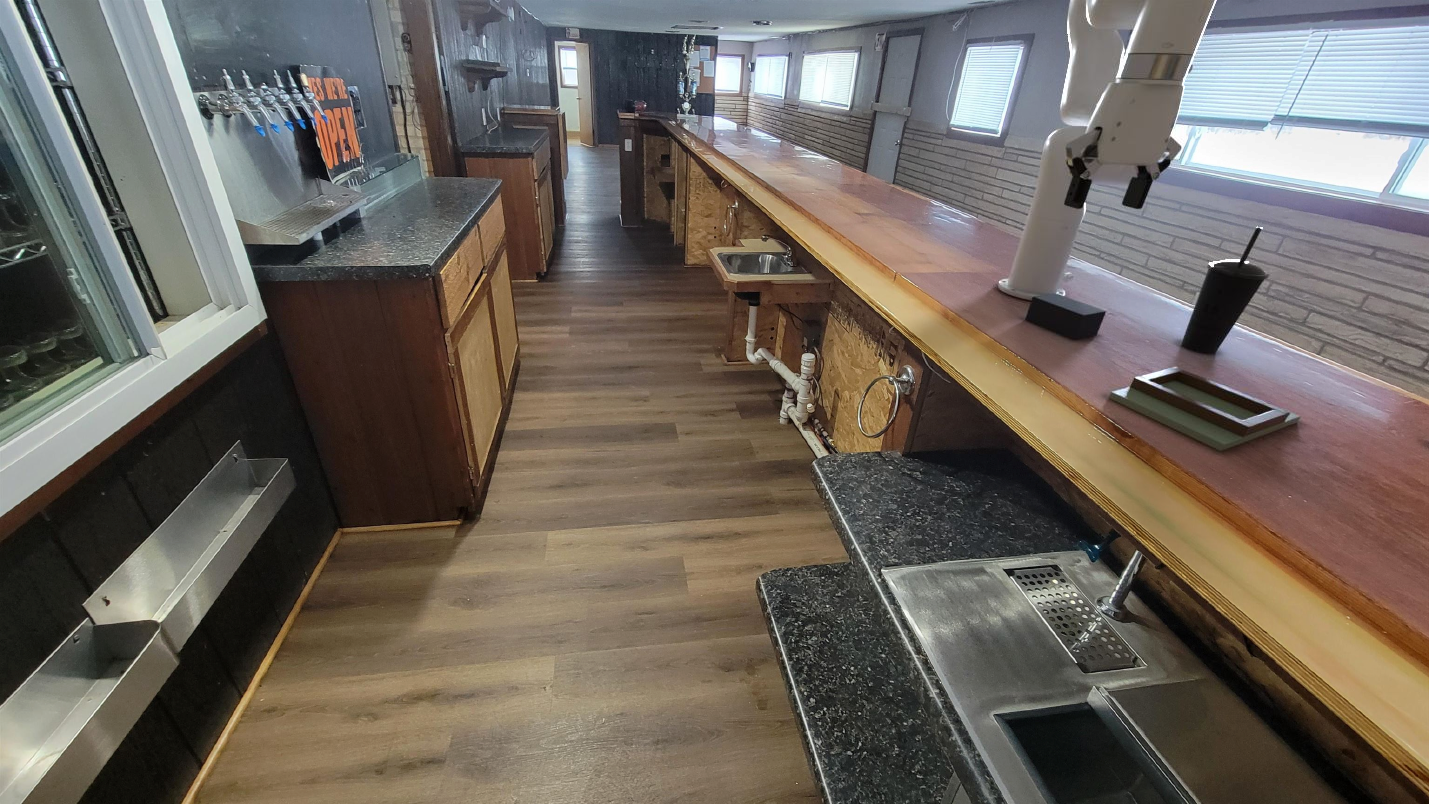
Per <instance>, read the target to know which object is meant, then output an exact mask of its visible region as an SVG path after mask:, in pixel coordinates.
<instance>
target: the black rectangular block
mask: <svg viewBox="0 0 1429 804" xmlns="http://www.w3.org/2000/svg"><path fill="white" fill-rule="evenodd" d="M1106 313H1107V310H1105V309H1101V308H1099V307H1096V306H1093V305H1090V304H1088V303H1085V302H1082V301H1078V300H1076V299H1073V298H1071V297H1067V296H1066V295H1065V296H1062V295H1059V294H1056V293H1052V294H1046V295H1039V296H1033V297H1032V300H1030V304H1029V307H1028V310H1027V313H1026V316H1025V318H1024V320H1025V321H1027V322H1030V323H1032V324H1035V325H1036V326H1037V325H1038V326H1040V327H1042V328H1044V329H1047V330H1049V331H1052V332H1054V333H1057V334H1059V335H1061V336H1064V337H1066V338H1069V339H1071V340H1080V339H1085V338H1090V337H1094V336H1098V333H1099V331H1100V328H1101V326H1102V323H1103V320H1104V318H1105V316H1106Z"/></svg>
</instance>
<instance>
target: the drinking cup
mask: <svg viewBox="0 0 1429 804" xmlns="http://www.w3.org/2000/svg"><path fill="white" fill-rule="evenodd" d="M1262 230H1263V227H1256V228H1255V230H1254V232H1253V233H1252V236H1251V238H1250V239H1249V241H1248V242H1247V243H1248V244H1247V245H1246V247H1245V249H1244V251H1243V253H1242V255H1241V257H1240V259H1225V260H1220V261H1213V262H1209V263H1207V266H1206V268H1207V272H1206V275H1205V277H1204V280H1203V282H1202V285H1201V288H1200V291H1199V293H1198V296H1197V299H1196V302H1195V304H1194V307H1193V309H1192V313H1191V316H1190V318H1189V321H1188V324H1187V327H1186V329H1185V332H1184V335H1183V336H1182V337H1183V338H1182V341H1181V344H1180V345H1181V346H1182V347H1183V348H1185V349H1187V350H1190V351H1193V352H1196V353H1201V354H1207V355H1210V354H1212V355H1213V354H1216V353H1217V351H1218V350H1219V348H1220V347H1221V346H1222V344H1223V343H1224V341H1225V340H1226V338H1227V337H1228V335H1229V333H1230V332H1231V330H1232V329H1233V328H1234V327H1235V325H1236V323H1237V322H1238V320H1239V319H1240V317H1241V316H1242V314H1243V312H1244V311H1245V309H1246V308H1247V307H1248V305H1249V303H1250V302H1251V301H1252V299H1253V298H1254V296H1255V294H1256V293H1257V291H1258V290H1259V288H1260V287H1261V286H1262V284H1263V283H1264V281H1265V280H1267V279H1268V278H1269V276H1270V273H1269V272H1267V271H1266V270H1264V269H1262V267H1260V266H1258V265H1257V264H1255V263H1252V262H1249V261H1247V259H1248V257H1249V255H1250V253H1251V251H1252V249H1253V247H1254V245H1255V243H1256V242H1257V240H1258V238H1259V235H1260V233H1261V232H1262Z"/></svg>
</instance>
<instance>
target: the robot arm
mask: <svg viewBox="0 0 1429 804" xmlns="http://www.w3.org/2000/svg"><path fill="white" fill-rule="evenodd" d="M1216 2H1217V0H1069V5H1068V11H1067V34H1068V35H1067V36H1068V42H1069V51H1070V57H1069V62H1068V67H1067V72H1066V77H1065V82H1064V87H1063V91H1062V96H1061V102H1060V111H1059V114H1060V118H1061V121H1062V122H1063V123H1064V124H1065V125H1068V126H1064V127H1061V128H1058V129H1056V130H1055V131H1053V132H1052V133H1051V134H1049V136H1048V137H1047V138H1046V140H1045V142H1044V145H1043V148H1042V152H1041V155H1040V156H1041V157H1040V163H1039V170H1038V175H1037V176H1038V177H1037V181H1036V187H1035V190H1034V194H1033V198H1032V201H1031V205H1030V208H1029V211H1028V215H1027V217H1026V221H1025V224H1024V228H1023V231H1022V234H1021V237H1020V240H1019V242H1018V247H1017V250H1016V254H1015V257H1014V259H1013V263H1012V266H1011V270H1010V273H1009V276H1008V278H1004V279H1001V280H999V282H998V285H997V286H998V287H997V288H998V289H999V290H1000V291H1001V292H1003V293H1004V294H1007V295H1009V296H1011V297H1015V298H1019V299H1023V300H1026V301H1031V300H1032V297H1033V296H1039V295H1046V294H1052V293H1056V294H1059V295H1062V296H1065V297H1066V291H1065V290H1064V289H1063V288H1061V285H1062V284H1063V283H1068V282H1072V281H1073V280H1074V277H1075V276H1074V274H1073V272H1065V270H1066V267H1067V264H1068V262H1069V259H1070V256H1071V253H1072V250H1073V247H1074V245H1075V242H1076V239H1077V236H1078V233H1079V231H1080V228H1081V225H1082V222H1083V220H1084V217H1085V214H1086V208H1087V207H1086V201H1087V197H1088V195H1089V192H1090V189H1091V187H1092V185H1103V186H1118V187H1119V186H1120V187H1126V186H1127V189H1126V191H1125V194H1124V197H1123V199H1122V201H1121V205H1122V206H1123V207H1127V208H1130V209H1135V210H1141V209H1143V207H1144V204H1145V202H1146V199H1147V197H1148V194H1149V192H1150V190H1151V187H1152V185H1153V183H1154V181H1156V180H1158V179H1159V178H1160V176H1161V173H1163V172H1164V171H1165V170H1167V168H1169V167H1170V165H1171V162H1173V160H1174V159H1175V158H1176V157H1177V156H1178V154H1179V153H1180V152H1181V150H1182V145H1181V144H1180V143H1179V142H1178V141H1177V140H1175V138H1174V137H1172V134H1173V131H1174V128H1175V126H1176V122H1177V119H1178V116H1179V112H1180V109H1181V104H1182V100H1183V96H1184V90H1185V85H1184V82H1185V79H1186V77H1187V75H1190V73H1191V72H1192V70H1193V68H1194V67H1193V64H1192V62H1193V60H1194V56H1195V54H1196V52H1197V49H1198V47H1199V45H1200V42H1201V39H1202V36H1203V35H1204V32H1205V29H1206V27H1207V25H1208V22H1209V19H1210V16H1211V14H1212V11H1213V9H1214V7H1215V4H1216ZM1118 30H1130V31H1131V30H1132V32H1131V35H1130V38H1129V41H1128V43H1127V47H1126V49H1125V44H1124V41H1123V39H1122V37H1121V35H1120V34H1119V32H1118Z"/></svg>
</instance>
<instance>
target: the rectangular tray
mask: <svg viewBox="0 0 1429 804" xmlns="http://www.w3.org/2000/svg"><path fill="white" fill-rule="evenodd" d="M1108 399H1110V400H1112V401H1114V402H1116V403H1118V404H1120V405H1123V406H1125V407H1127V408H1129V409H1131V410H1133V411H1135V412H1137V413H1139V414H1142V415H1143V416H1146V417H1148V418H1149V419H1151V420H1155V421H1156V422H1158V423H1160V424H1162V425H1165V426H1166V427H1169V428H1171V429H1173V430H1174V431H1177V432H1179V433H1182V434H1184V435H1185V436H1188V437H1190V438H1192V439H1194V440H1196V441H1199V442H1200V443H1202V444H1205V445H1207V446H1208V447H1211V448H1212V449H1215V450H1217V451H1219V452H1222V451H1224V450H1227V449H1230V448H1234V447H1236V446H1238V445H1241V444H1245V443H1246V442H1249V441H1251V440H1252V441H1253V440H1255V439H1257V438H1260V437H1262V436H1266V435H1267V434H1270V433H1273V432H1275V431H1278V430H1281V429H1284V428H1286V427H1288V426H1292V425H1295V424H1297V423H1298V422H1299V420H1300V419H1301V417H1302V415H1299V414H1296V413H1294V412H1291V411H1289V410H1287V409H1284V408H1281V407H1279V406H1277V405H1275V404H1271V403H1268V402H1266V401H1264V400H1261V399H1259V398H1256V397H1254V396H1251V395H1249V394H1246V393H1243V392H1241V391H1239V390H1236V389H1234V388H1230V387H1228V386H1226V385H1223V384H1221V383H1218V382H1215V381H1213V380H1211V379H1208V378H1205V377H1203V376H1200V375H1197V374H1195V373H1193V372H1190V371H1187V370H1185V369H1183V368H1181V367H1177V366H1174V367H1170V368H1167V369H1166V368H1165V369H1162V370H1158V371H1155V372H1150V373H1147V374H1143V375H1140V376H1139V375H1138V376H1135V377H1133V379H1132V381H1131V383H1130V385H1129V386H1127V387H1124V388H1120V389H1117V390H1113V391H1111V392H1110V393H1109V396H1108Z"/></svg>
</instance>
